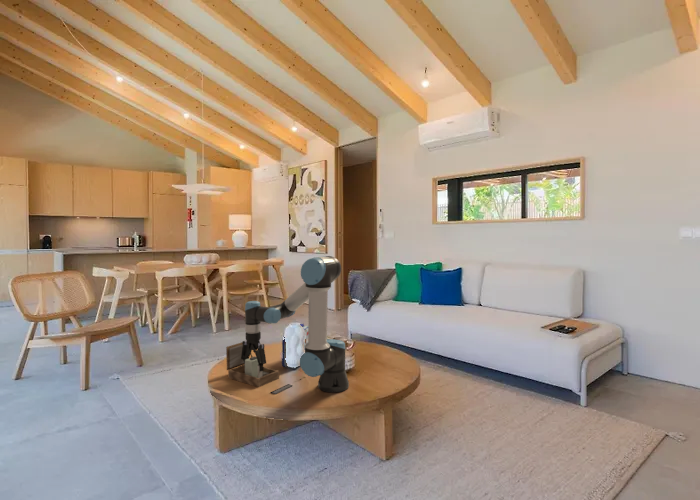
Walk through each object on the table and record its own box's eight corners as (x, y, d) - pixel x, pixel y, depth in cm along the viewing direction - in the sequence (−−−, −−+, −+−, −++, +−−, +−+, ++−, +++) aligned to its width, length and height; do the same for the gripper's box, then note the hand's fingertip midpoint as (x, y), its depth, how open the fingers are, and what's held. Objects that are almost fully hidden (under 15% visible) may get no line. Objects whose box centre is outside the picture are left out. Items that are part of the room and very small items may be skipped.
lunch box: (296, 355, 254) (295, 320, 253) (312, 356, 252) (312, 320, 251) (279, 371, 227) (279, 331, 226) (297, 372, 225) (297, 332, 224)
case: (279, 380, 213) (278, 347, 212) (258, 389, 202) (258, 354, 201) (247, 371, 226) (247, 340, 225) (226, 379, 215) (226, 346, 214)
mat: (292, 386, 205) (292, 385, 205) (275, 394, 195) (275, 393, 195) (277, 382, 211) (277, 380, 211) (260, 389, 201) (260, 388, 201)
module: (262, 377, 215) (261, 356, 214) (251, 381, 209) (251, 360, 209) (255, 375, 218) (255, 354, 217) (245, 379, 212) (244, 358, 211)
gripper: (273, 333, 209) (274, 377, 211) (244, 327, 221) (245, 369, 223) (262, 336, 203) (263, 381, 204) (233, 330, 215) (233, 373, 216)
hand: (253, 375), depth 213 cm, fingers open, 9 cm apart
